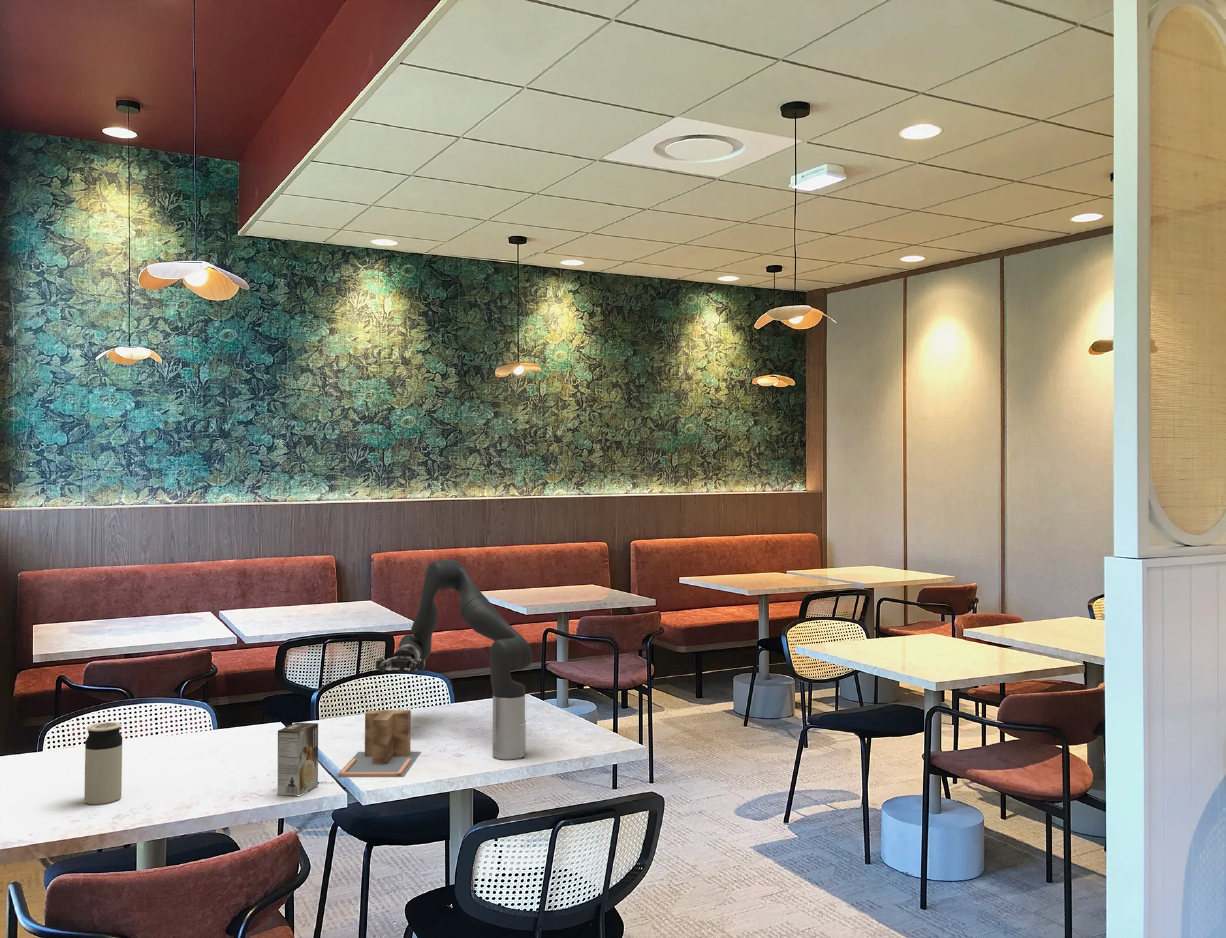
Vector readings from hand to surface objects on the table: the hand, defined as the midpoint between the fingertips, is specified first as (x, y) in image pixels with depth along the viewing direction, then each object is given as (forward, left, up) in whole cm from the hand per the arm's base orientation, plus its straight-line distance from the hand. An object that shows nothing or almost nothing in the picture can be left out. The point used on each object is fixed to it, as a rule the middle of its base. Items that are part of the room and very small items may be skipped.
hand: (396, 669), depth 285 cm
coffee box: (+16, +42, -23) cm, 51 cm away
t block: (0, +16, -22) cm, 27 cm away
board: (0, +22, -23) cm, 32 cm away
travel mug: (+61, +49, -23) cm, 82 cm away
